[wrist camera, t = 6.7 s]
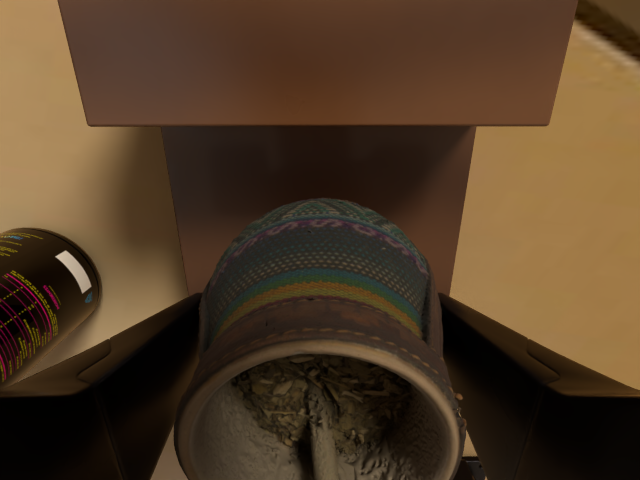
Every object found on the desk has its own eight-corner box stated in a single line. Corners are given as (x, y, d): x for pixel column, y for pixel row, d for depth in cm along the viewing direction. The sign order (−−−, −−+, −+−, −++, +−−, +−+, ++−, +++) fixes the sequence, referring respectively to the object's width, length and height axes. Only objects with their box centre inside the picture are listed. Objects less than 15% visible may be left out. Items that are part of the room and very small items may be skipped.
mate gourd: (374, 145, 12) (563, 282, 3) (436, 313, 14) (644, 684, 5) (197, 223, 13) (-109, 515, 4) (284, 367, 16) (229, 755, 6)
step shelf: (428, 299, 22) (484, 400, 14) (209, 300, 22) (152, 401, 14) (466, 16, 16) (593, -61, 9) (170, 16, 16) (41, -61, 9)
